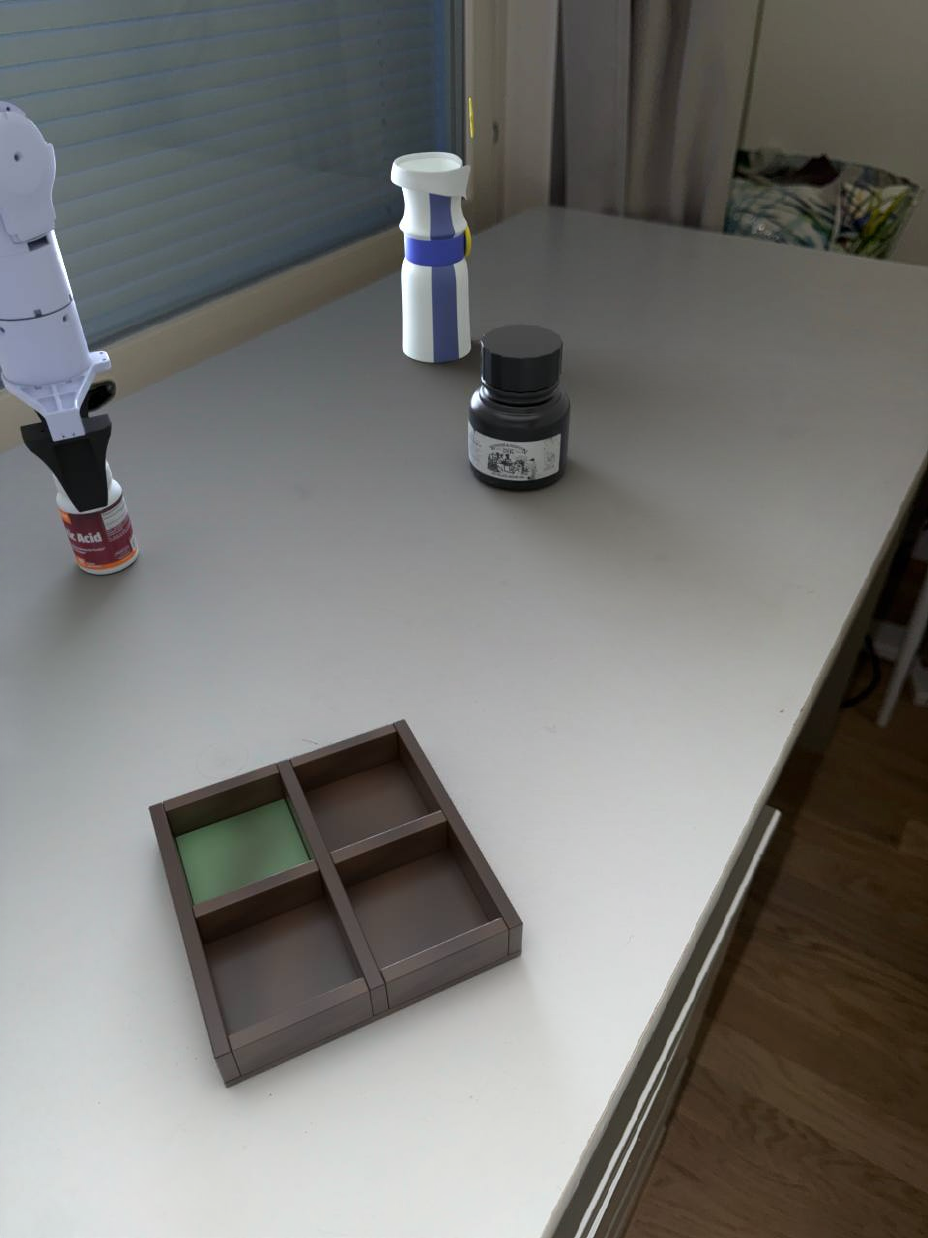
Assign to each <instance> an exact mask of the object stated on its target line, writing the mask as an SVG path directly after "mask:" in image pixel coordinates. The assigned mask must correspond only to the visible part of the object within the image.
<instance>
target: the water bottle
mask: <svg viewBox="0 0 928 1238" xmlns="http://www.w3.org/2000/svg"><path fill="white" fill-rule="evenodd" d="M468 102H469V121H470V137H471V139H472V138H474V133H475V128H474V111H473V105H472V97H469V99H468ZM463 163H464V162H463V160H462V159H461V157H460V156H458V155H456V154H454V153H451V152H443V151H429V152H428V151H426V152H416V153H415V152H414V153H410V154H404V155H402V156H399V157H397V158H396V159H395V160H394V161H393V162H392V166H391V167H392V168H391V172H390V180H391V182H392V183H393V184H394V185H395V186H398V187H400V188H401V189H402V193H403V200H404V213H403V217H402V219H401V221H400V223H399V229H400V230H401V231H402V233H403V239H404V240H403V241H404V242H403V243H404V259H403V262H402V267H401V294H402V296H401V297H402V298H401V299H402V352H403V353H404V355H406V357H407V358H408V357H409V358H411V359H412V360H415V361H417V362H418V361H419V362H422V363H433V364H434V363H437V364H438V363H446V362H447V363H448V362H452V361H457V360H459V359H461V358H464V357H465V356H467V355H468V354H469V353H470V352H471V349H472V342H471V339H472V338H471V325H470V323H471V321H470V305H469V304H470V302H469V301H470V300H469V297H470V296H469V269H468V268H469V267H468V263H467V260H466V258H468V257H470V256H471V255H470V254H471V252H472V236H471V231H470V228H469V225H468V222H467V220H466V218H465V217H464V213H463V210H462V198H464V199H465V201H468V198H467V187H468V183H469V177H470V173H471V169H472V167H471V166H470V164H466V165H464V164H463ZM463 165H464V166H463Z"/></svg>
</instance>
